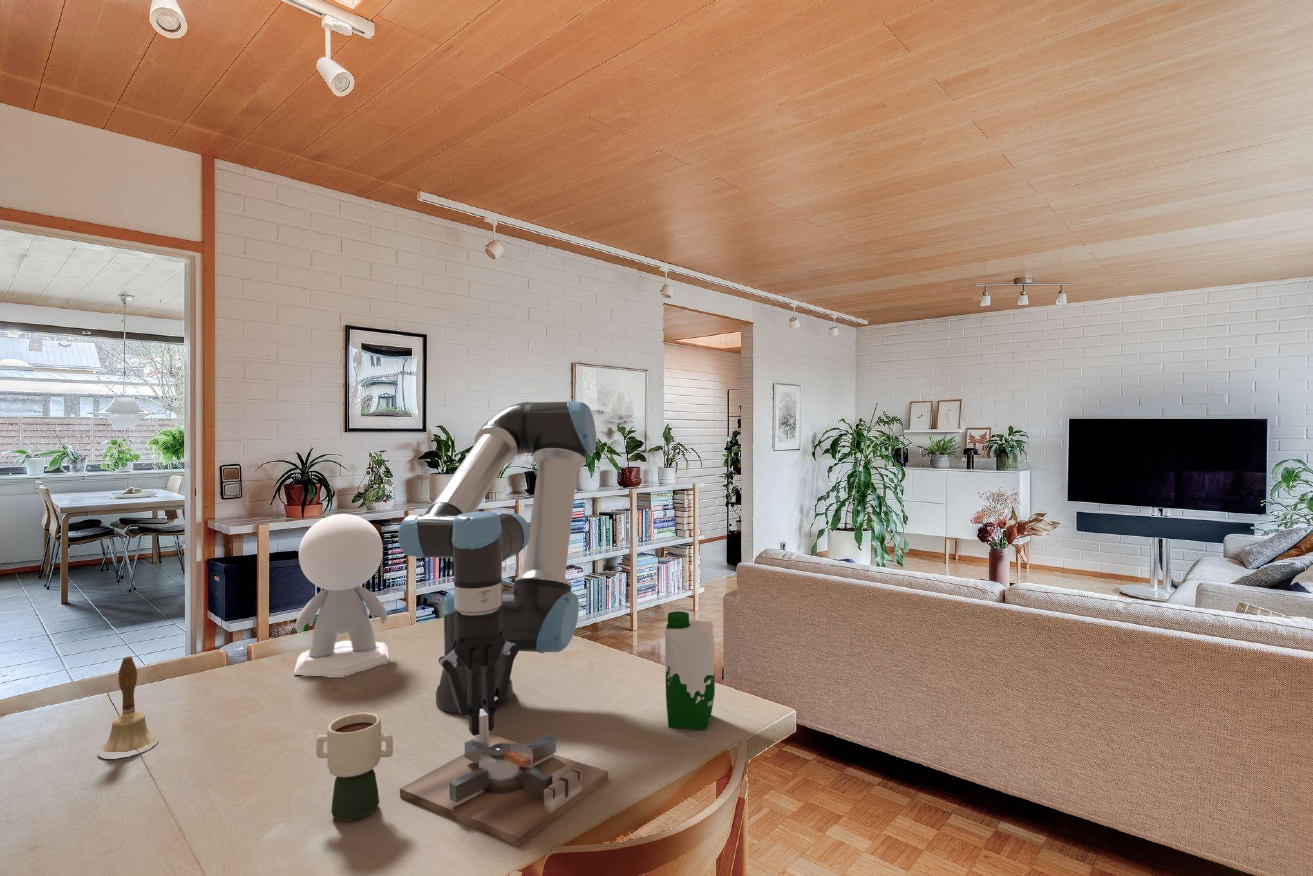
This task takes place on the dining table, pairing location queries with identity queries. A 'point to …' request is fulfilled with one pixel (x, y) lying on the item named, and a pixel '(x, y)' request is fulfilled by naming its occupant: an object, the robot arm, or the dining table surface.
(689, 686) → the milk carton
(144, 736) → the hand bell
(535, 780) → the four-spoke handwheel
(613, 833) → the dining table surface
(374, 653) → the big headed doll
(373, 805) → the character mug
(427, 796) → the wooden mounting board
